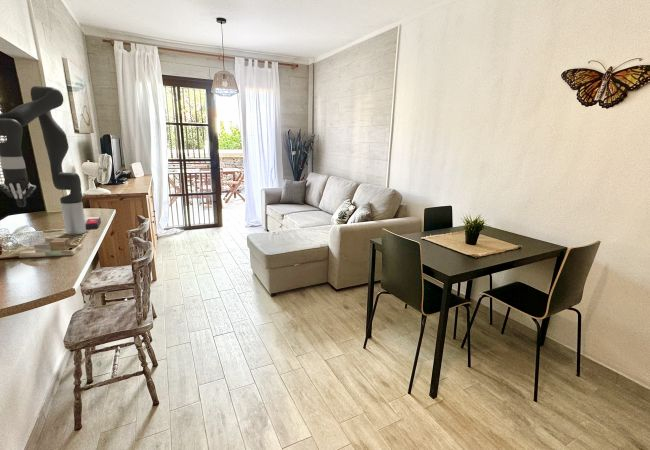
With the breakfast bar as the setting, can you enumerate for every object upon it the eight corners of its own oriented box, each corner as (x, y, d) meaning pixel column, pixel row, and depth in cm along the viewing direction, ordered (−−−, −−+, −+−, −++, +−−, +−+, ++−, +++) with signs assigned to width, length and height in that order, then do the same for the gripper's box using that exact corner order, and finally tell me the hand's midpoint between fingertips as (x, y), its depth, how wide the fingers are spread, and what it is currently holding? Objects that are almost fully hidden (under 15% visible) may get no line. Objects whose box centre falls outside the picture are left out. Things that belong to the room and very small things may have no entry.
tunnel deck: (31, 250, 150) (29, 239, 149) (83, 247, 156) (81, 237, 155) (19, 257, 141) (16, 245, 139) (74, 254, 147) (72, 243, 145)
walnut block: (56, 246, 150) (55, 238, 149) (70, 246, 152) (69, 238, 151) (50, 250, 145) (49, 242, 144) (65, 249, 147) (63, 241, 146)
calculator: (73, 224, 183) (78, 217, 195) (75, 231, 184) (79, 224, 196) (97, 222, 188) (100, 215, 200) (98, 229, 189) (101, 222, 202)
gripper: (37, 166, 143) (44, 204, 148) (0, 166, 139) (8, 205, 144) (27, 168, 136) (35, 208, 141) (-12, 167, 132) (-3, 208, 137)
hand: (22, 206), depth 142 cm, fingers closed
